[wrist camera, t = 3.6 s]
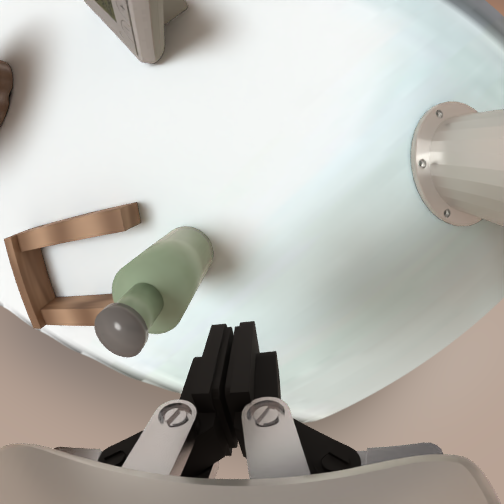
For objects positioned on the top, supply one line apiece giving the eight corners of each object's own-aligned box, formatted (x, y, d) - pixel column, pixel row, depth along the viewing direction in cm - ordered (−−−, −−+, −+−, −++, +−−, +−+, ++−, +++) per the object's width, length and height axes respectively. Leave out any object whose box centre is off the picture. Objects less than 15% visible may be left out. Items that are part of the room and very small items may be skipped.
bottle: (207, 222, 26) (145, 286, 12) (217, 274, 27) (174, 373, 14) (157, 230, 26) (66, 292, 13) (168, 279, 28) (98, 369, 14)
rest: (137, 202, 25) (114, 210, 21) (162, 307, 29) (146, 330, 24) (28, 229, 27) (4, 239, 23) (53, 311, 30) (33, 328, 26)
